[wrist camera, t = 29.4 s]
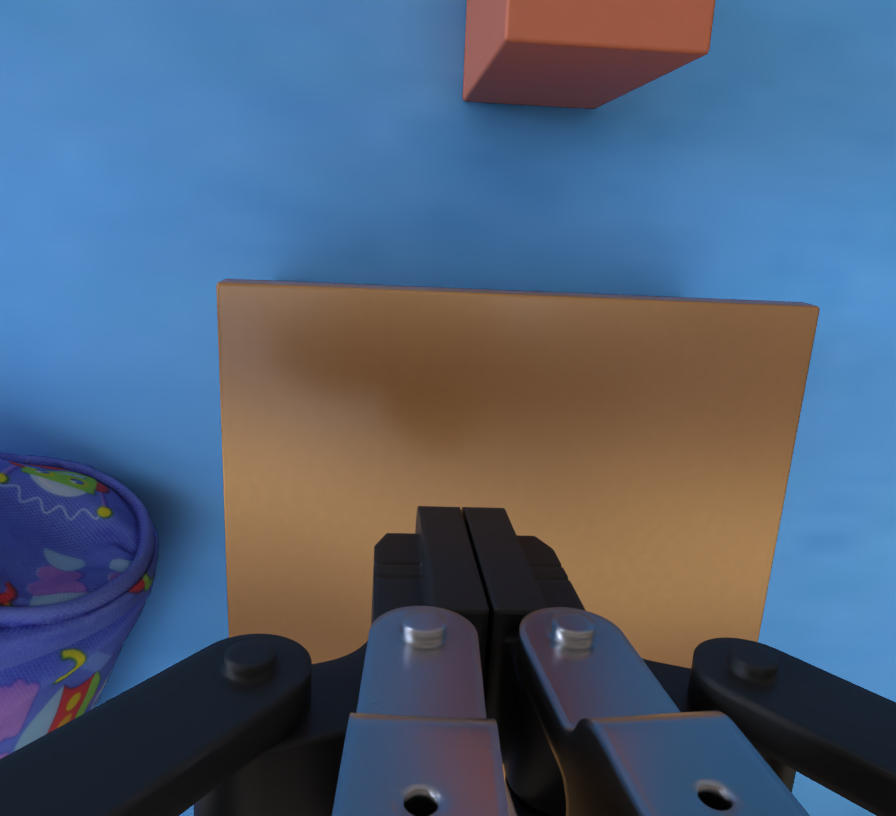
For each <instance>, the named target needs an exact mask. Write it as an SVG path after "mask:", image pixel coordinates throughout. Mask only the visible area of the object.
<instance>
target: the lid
mask: <svg viewBox="0 0 896 816" xmlns="http://www.w3.org/2000/svg"><path fill="white" fill-rule="evenodd" d="M216 289H217V318H218V346H219V374H220V402H221V431H222V459H223V487H224V515H225V544H226V572H227V600H228V628H229V638H230V637H234V636H239V635H245V634H273V635H279V636H283V637H286V638H289V639H292V640H294V641H296V642H298V643H299V644H301V645H302V646H303V647H304V648H305V649H306V650H307V651H308V653H309V654H310V657H311V661H312V664H316V663H321V662H326V661H330V660H334V659H337V658H340V657H343V656H346V655H348V654H350V653H352V652H354V651H356V650H357V649H359V648H360V647H361V646H363V645H364V644H365V643H366V642H367V641H368V636H369V630H370V627H371V614H372V590H373V565H374V546H375V545H376V544H377V543H378V542H379V541H380V540H381V539H382V538H383V537H384V535H385V534H386V533H412V534H415V529H416V514H417V507H418V506H442V507H460V509H462V507H489V508H505V510H506V512H507V515H508V517H509V519H510V522H511V524H512V526H513V528H514V531H515V533H516V535H518V536H535V537H537V538H538V539H540V540H541V541H543V542H544V543H545V544H547V545H548V546H550V547H551V548H552V549H554V551H555V553H556V555H557V557H558V559H559V561H560V563H561V567H563V568H564V570H565V572H566V574H567V576H568V580H570V582H571V583H572V585H573V587H574V589H575V591H576V593H577V595H578V597H579V599H580V600H581V602H582V604H583V606H584V608H585V610H586V611H589V612H592V613H595V614H597V615H600V616H602V617H604V618H606V619H608V620H609V621H611V622H612V623H614V624H615V625H616V626H617V627H619V629H620V630H621V631H622V632H623V633H624V635H625V636H626V637H627V639H628V640H629V641H630V643H631V644H632V646H633V647H634V648H635V650H636V651H637V653H638V654H639V655H640V657H641V658H643V659H646V660H651V661H655V662H660V663H665V664H670V665H675V666H680V667H686V668H691V666H692V660H693V653H694V650H695V648H696V647H697V646H698V645H699V644H700V643H702V642H704V641H706V640H709V639H714V638H726V637H729V638H740V639H746V640H750V641H755V642H758V638H759V632H760V627H761V622H762V616H763V611H764V606H765V600H766V595H767V589H768V584H769V579H770V573H771V568H772V563H773V557H774V552H775V546H776V541H777V536H778V530H779V525H780V520H781V514H782V509H783V503H784V498H785V493H786V487H787V482H788V476H789V471H790V466H791V460H792V455H793V450H794V444H795V439H796V433H797V428H798V423H799V417H800V412H801V407H802V401H803V396H804V390H805V385H806V380H807V374H808V369H809V364H810V358H811V353H812V347H813V342H814V337H815V331H816V326H817V321H818V315H819V307H817V306H814V305H810V304H807V303H803V302H784V301H759V300H735V299H710V298H686V297H661V296H637V295H612V294H588V293H563V292H539V291H514V290H490V289H465V288H441V287H416V286H392V285H367V284H343V283H318V282H294V281H269V280H245V279H224V280H222V281H220V282H218V283H217V285H216ZM502 766H503V774H504V782H505V769H504V764H502Z"/></svg>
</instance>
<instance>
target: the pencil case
mask: <svg viewBox="0 0 896 816" xmlns="http://www.w3.org/2000/svg"><path fill="white" fill-rule="evenodd" d="M157 560H158V536H157V533H156V530H155V527H154V525H153V523H152V520H151V518H150V515H149V513H148V511H147V509H146V507H145V506H144V504H143V503H142V501H141V500H140V499H139V498H138V497H137V496H136V495H135V494H134V493H133V492H132V491H131V490H130V489H129V488H128V487H126V486H125V485H123V484H122V483H121V482H119V481H118V480H116V479H114V478H112V477H110V476H108V475H106V474H104V473H102V472H99V471H97V470H96V469H94V468H93V467H91V466H87V465H83V464H80V463H76V462H72V461H66V460H61V459H55V458H49V457H42V456H32V455H28V456H21V455H15V454H9V453H3V452H0V759H1V758H3V757H5V756H7V755H9V754H11V753H13V752H14V751H16V750H18V749H20V748H22V747H24V746H25V745H27V744H29V743H31V742H33V741H35V740H36V739H38V738H40V737H42V736H44V735H46V734H48V733H49V732H51V731H53V730H55V729H57V728H59V727H60V726H62V725H64V724H66V723H68V722H70V721H71V720H73V719H75V718H77V717H79V716H81V715H83V714H84V713H86V712H88V711H90V710H92V709H94V708H95V706H96V704H97V702H98V699H99V697H100V695H101V693H102V691H103V688H104V686H105V684H106V682H107V680H108V677H109V675H110V673H111V671H112V669H113V667H114V664H115V662H116V660H117V657H118V655H119V653H120V651H121V648H122V645H123V642H124V640H125V639H126V638H127V636H128V635H129V633H130V631H131V629H132V628H133V626H134V624H135V623H136V621H137V619H138V617H139V616H140V614H141V612H142V609H143V607H144V605H145V602H146V599H147V597H148V596H149V594H150V592H151V589H152V585H153V581H154V577H155V572H156V566H157Z"/></svg>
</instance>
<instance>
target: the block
mask: <svg viewBox="0 0 896 816" xmlns="http://www.w3.org/2000/svg"><path fill="white" fill-rule="evenodd" d="M714 7H715V0H467V12H466V34H465V56H464V79H463V100H464V101H466V102H482V103H499V104H516V105H534V106H551V107H569V108H586V109H595V108H597V107H599V106H601V105H603V104H605V103H608V102H610V101H612V100H614V99H616V98H618V97H620V96H622V95H624V94H626V93H628V92H630V91H632V90H634V89H636V88H638V87H640V86H642V85H644V84H646V83H649V82H651V81H653V80H655V79H657V78H659V77H661V76H663V75H665V74H667V73H669V72H671V71H673V70H675V69H677V68H679V67H681V66H683V65H685V64H688V63H690V62H692V61H694V60H696V59H698V58H700V57H702V56H704V55H706V54H708V52H709V48H710V39H711V31H712V23H713V15H714Z"/></svg>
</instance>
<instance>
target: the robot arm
mask: <svg viewBox="0 0 896 816" xmlns="http://www.w3.org/2000/svg"><path fill="white" fill-rule="evenodd" d="M502 764H504V769H505V782H504V774H503V766H502ZM796 771H797V772H799V773H801V774H803V775H804V776H806V777H808V778H810V779H812V780H813V781H815V782H817V783H819V784H821V785H822V786H824V787H826V788H828V789H830V790H831V791H833V792H835V793H837V794H839V795H841V796H842V797H844V798H846V799H848V800H850V801H851V802H853V803H855V804H857V805H859V806H860V807H862V808H864V809H866V810H868V811H869V812H871V813H873V814H875V815H877V816H896V703H895V702H893V701H891V700H889V699H886V698H884V697H882V696H880V695H877V694H875V693H873V692H871V691H868V690H866V689H864V688H862V687H860V686H857V685H855V684H853V683H851V682H848V681H846V680H844V679H842V678H840V677H837V676H835V675H833V674H831V673H828V672H826V671H824V670H822V669H819V668H817V667H815V666H813V665H811V664H808V663H806V662H804V661H802V660H799V659H797V658H795V657H793V656H790V655H788V654H786V653H784V652H782V651H779V650H777V649H775V648H772V647H770V646H767V645H764V644H761V643H758V642H755V641H750V640H746V639H740V638H729V637H726V638H714V639H709V640H706V641H704V642H702V643H700V644H699V645H698V646H697V647H696V648H695V650H694V653H693V660H692V666H691V668H686V667H680V666H675V665H670V664H665V663H660V662H655V661H651V660H646V659H643V658H641V657H640V655H639V654H638V653H637V651H636V650H635V648H634V647H633V646H632V644H631V643H630V641H629V640H628V639H627V637H626V636H625V635H624V633H623V632H622V631H621V630H620V629H619V627H617V626H616V625H615V624H614V623H612V622H611V621H609V620H608V619H606V618H604V617H602V616H600V615H597V614H595V613H592V612H589V611H586V610H585V608H584V606H583V604H582V602H581V600H580V599H579V597H578V595H577V593H576V591H575V589H574V587H573V585H572V583H571V582H570V580H568V576H567V574H566V572H565V570H564V568H563V567H561V563H560V561H559V559H558V557H557V555H556V553H555V551H554V549H552V548H551V547H550V546H548V545H547V544H545V543H544V542H543V541H541V540H540V539H538V538H537V537H535V536H518V535H516V533H515V531H514V528H513V526H512V524H511V522H510V519H509V517H508V515H507V512H506V510H505V508H489V507H462V509H460V507H442V506H418V507H417V514H416V529H415V534H412V533H386V534H385V535H384V537H383V538H382V539H381V540H380V541H379V542H378V543H377V544H376V545H375V546H374V565H373V590H372V614H371V627H370V630H369V636H368V641H367V642H366V643H365V644H364V645H363V646H361V647H360V648H359V649H357V650H356V651H354V652H352V653H350V654H348V655H346V656H343V657H340V658H337V659H334V660H330V661H326V662H321V663H316V664H312V661H311V657H310V654H309V653H308V651H307V650H306V649H305V648H304V647H303V646H302V645H301V644H299V643H298V642H296V641H294V640H292V639H289V638H286V637H283V636H279V635H273V634H245V635H239V636H234V637H230V638H227V639H224V640H221V641H218V642H216V643H214V644H212V645H210V646H208V647H206V648H204V649H202V650H200V651H199V652H197V653H195V654H193V655H191V656H189V657H188V658H186V659H184V660H182V661H180V662H178V663H177V664H175V665H173V666H171V667H169V668H167V669H165V670H164V671H162V672H160V673H158V674H156V675H154V676H153V677H151V678H149V679H147V680H145V681H143V682H142V683H140V684H138V685H136V686H134V687H132V688H130V689H129V690H127V691H125V692H123V693H121V694H119V695H118V696H116V697H114V698H112V699H110V700H108V701H107V702H105V703H103V704H101V705H99V706H97V707H95V708H94V709H92V710H90V711H88V712H86V713H84V714H83V715H81V716H79V717H77V718H75V719H73V720H71V721H70V722H68V723H66V724H64V725H62V726H60V727H59V728H57V729H55V730H53V731H51V732H49V733H48V734H46V735H44V736H42V737H40V738H38V739H36V740H35V741H33V742H31V743H29V744H27V745H25V746H24V747H22V748H20V749H18V750H16V751H14V752H13V753H11V754H9V755H7V756H5V757H3V758H1V759H0V816H179V815H180V814H182V813H183V812H184V811H186V810H187V809H188V808H190V807H191V806H192V805H194V816H810V815H809V814H808V813H807V811H806V810H805V809H804V808H803V807H802V805H801V804H800V803H799V802H798V800H797V799H796V798H795V797H794V795H793V794H792V788H793V783H794V779H795V774H796Z"/></svg>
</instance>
